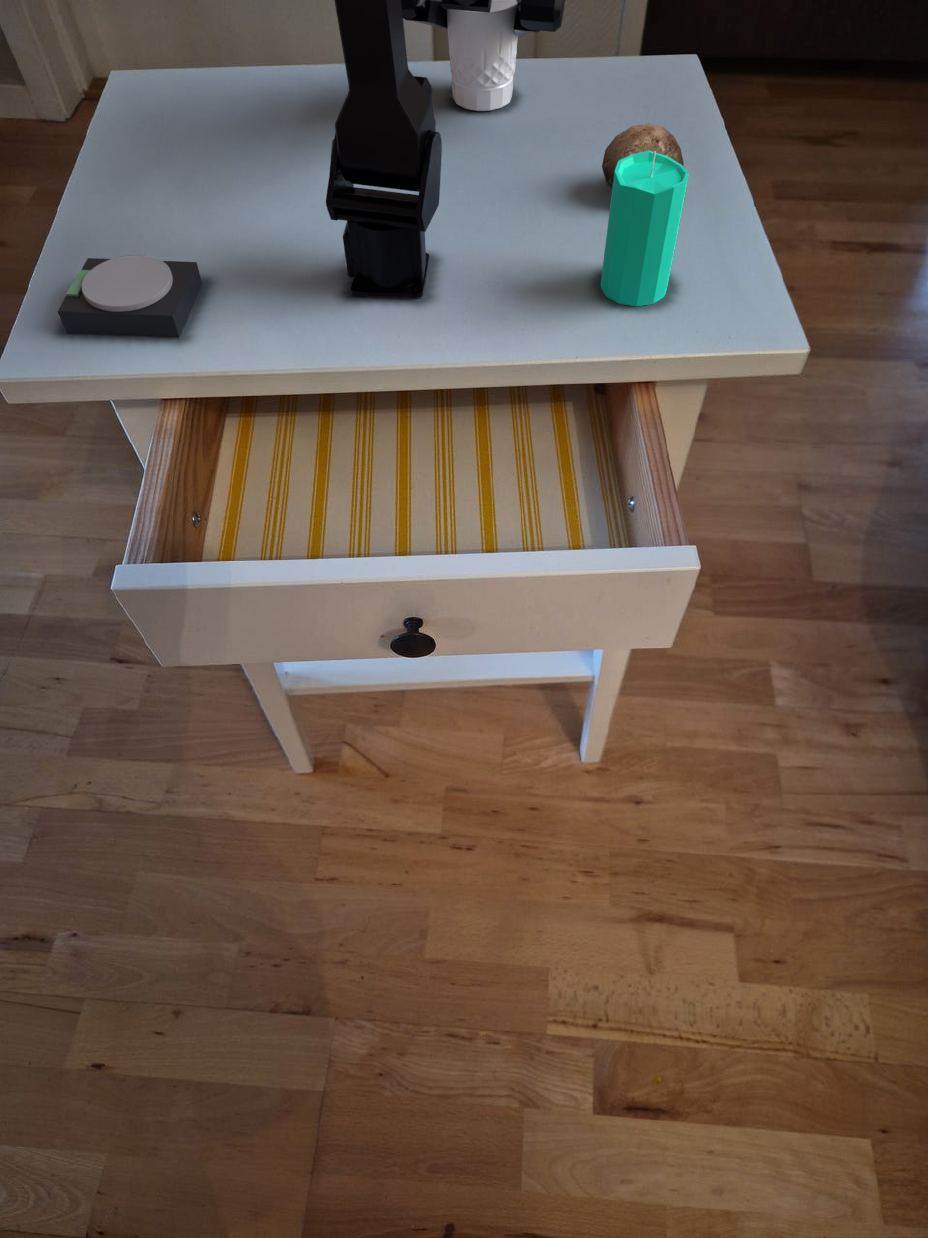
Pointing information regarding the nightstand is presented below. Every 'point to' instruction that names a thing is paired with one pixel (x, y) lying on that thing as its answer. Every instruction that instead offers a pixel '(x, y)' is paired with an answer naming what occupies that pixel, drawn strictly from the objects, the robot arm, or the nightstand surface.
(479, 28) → the white cup
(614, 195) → the candle
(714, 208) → the nightstand surface
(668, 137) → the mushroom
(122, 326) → the scale
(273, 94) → the nightstand surface
